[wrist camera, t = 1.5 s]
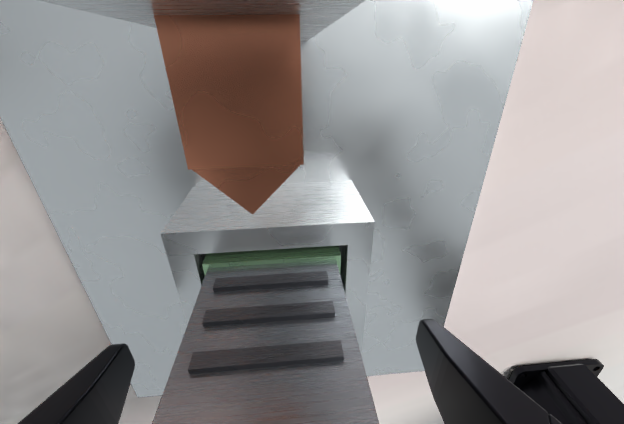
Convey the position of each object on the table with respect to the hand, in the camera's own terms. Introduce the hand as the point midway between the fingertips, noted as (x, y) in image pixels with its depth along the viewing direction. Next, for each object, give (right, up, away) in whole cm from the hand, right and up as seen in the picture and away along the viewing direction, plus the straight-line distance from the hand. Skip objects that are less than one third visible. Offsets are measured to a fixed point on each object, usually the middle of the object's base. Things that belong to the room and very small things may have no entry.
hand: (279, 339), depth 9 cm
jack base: (-1, +3, +5) cm, 6 cm away
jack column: (0, +2, +4) cm, 5 cm away
